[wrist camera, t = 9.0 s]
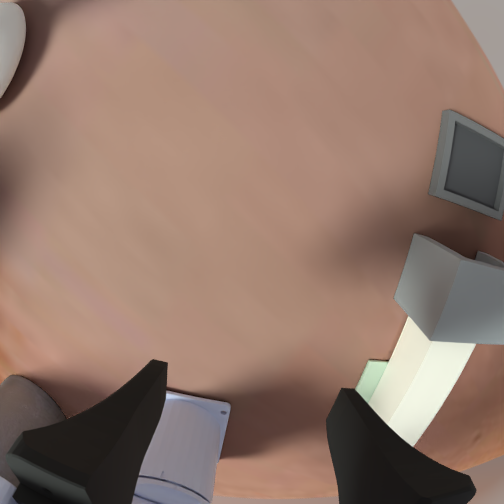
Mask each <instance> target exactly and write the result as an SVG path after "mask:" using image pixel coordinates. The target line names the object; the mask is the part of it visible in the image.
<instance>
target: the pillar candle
mask: <svg viewBox="0 0 504 504" xmlns="http://www.w3.org/2000/svg"><path fill="white" fill-rule="evenodd" d="M64 420H66V418H65V416H64V414H63V412H62V411H61V409H60V408H59V406H58V405H57V404H56V403H55V402H54V400H53V399H52V398H51V397H50V396H48V394H47V393H46V392H44V391H43V390H42V389H41V388H40V387H38V386H37V385H36V384H34V383H33V382H31V381H30V380H28V379H26V378H23V377H21V376H18V375H11V376H9V377H7V378H6V379H5V380H4V381H3V382H2V383H1V384H0V476H1V477H2V478H4V479H6V480H7V481H9V482H10V483H11V484H13V485H14V486H15V487H16V488H17V487H18V485H19V484H20V482H19V480H18V479H17V477H16V476H15V474H14V473H13V472H12V470H11V469H10V467H9V465H8V463H7V461H6V457H5V455H6V454H7V452H8V451H9V449H10V448H11V446H12V445H13V443H14V442H15V440H16V439H17V438H18V436H19V435H20V434H21V433H22V432H23V431H27V430H32V429H36V428H41V427H45V426H49V425H52V424H55V423H58V422H61V421H64Z"/></svg>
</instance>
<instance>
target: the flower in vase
mask: <svg viewBox="0 0 504 504" xmlns="http://www.w3.org/2000/svg"><path fill="white" fill-rule="evenodd" d="M25 37H26V22H25V16H24V13H23V11H22V9H21V7H20V6H19V5H17V4H16V3H12V2H6V3H0V98H1V97H2V95H3V94H4V92H5V91H6V89H7V87H8V85H9V84H10V82H11V80H12V78H13V76H14V74H15V71H16V69H17V66H18V64H19V61H20V58H21V55H22V52H23V48H24V43H25Z"/></svg>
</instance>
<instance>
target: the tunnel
mask: <svg viewBox="0 0 504 504" xmlns="http://www.w3.org/2000/svg"><path fill="white" fill-rule="evenodd" d="M394 300H395V301H396V302H397V303H398V304H399V305H400V306H401V308H402V309H403V310H404V311H405V312H406V313H407V314H408V316H409V317H410V318H411V319H412V320H413V321H414V323H415V324H416V325H417V326H418V327H419V329H420V330H421V331H422V332H423V333H424V334H425V336H426V337H427V338H428V339H429V341H438V342H454V343H473V344H502V345H504V262H502V261H501V260H499V259H497V258H495V257H493V256H491V255H489V254H487V253H484V252H481V251H478V252H477V255H476V258H475V260H472V259H469V258H465V257H464V256H462V255H460V254H458V253H457V252H455V251H453V250H451V249H450V248H448V247H446V246H444V245H442V244H440V243H439V242H437V241H435V240H433V239H431V238H429V237H427V236H424V235H420V234H416V233H414V235H413V239H412V242H411V246H410V249H409V252H408V256H407V259H406V262H405V266H404V269H403V272H402V275H401V278H400V281H399V284H398V287H397V290H396V293H395V296H394Z"/></svg>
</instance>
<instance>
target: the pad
mask: <svg viewBox="0 0 504 504" xmlns="http://www.w3.org/2000/svg"><path fill="white" fill-rule="evenodd" d="M388 362H389V361H379V360H368V362H367V365H366V367H365V369H364V371H363V374H362V376H361V378H360V380H359V382H358V384H357V386H356V389H355V390H356V391H357V392H358V393H359V394H360V395H361V396H362V397H363V399H364V400H365V401H366V402H367V403H369V401H370V399H371V397H372V395H373V393H374V391H375V389H376V387H377V385H378V383H379V381H380V379H381V377H382V375H383V373H384V371H385V369H386V367H387V365H388Z"/></svg>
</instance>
